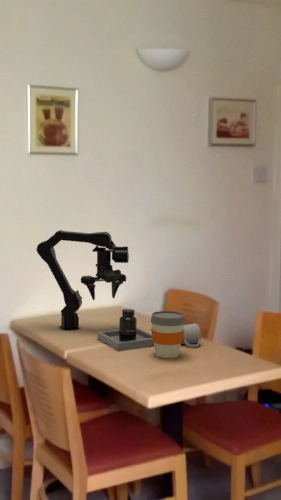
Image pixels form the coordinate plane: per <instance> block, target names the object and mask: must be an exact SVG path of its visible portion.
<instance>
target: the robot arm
mask: <svg viewBox="0 0 281 500" xmlns="http://www.w3.org/2000/svg"><path fill="white" fill-rule="evenodd" d="M61 241H65V242H66V241H67V242H77V243H89V244H91V245H94V248H93V249H92V250H91V252H93V253H96V263H95V267H96V273H95V276H92V275H81V278H80V283H81V284H83V285H84V286H86V287H87V290H88V291H89V294H90V296H91V299H92V301H95V299H96V293H95V289H96V286H97V285H96V284H95V283H96V282H105V283H109V284H111V297H112V299H115V297H116V294H117V292H118V290H119V287H120V286H121V285H122V284H124V283H125V282H126V281H127V276H126V275H125V274H123V273H122V270H120V269H115V270H113V265H112V263H111V261H113V262H114V263H117V264H123V263H124V264H128V263H129V259H130V258H129V257H130V254H129V246H117V245H116V244H115V243H114V241H113V240H112V235H111V234H110V232H108V231H97V232H90V233H89V232H77V231H66V230H62V229H60V230H57V231H55V233H54V234H52V236H50V237H49V238H48V239H47V240H43V241H41V242H40V243H38V245H37V246H36V252H37V254H38V255H39V257H40V258H41V259H42V260H43V262H45V263H46V265H48V268H49V270H50V271H51V274H52V275H53V277H54V279H55V281H56V283H57V285H58V286H59V288H60V291H61V292H62V293H61V294H62V295H63V301H64V303H65V306H64V307H63V308H62V309H61V310H60V313H61V317H60V318H61V319H60V321H61V322H60V323H61V325H59V328H61V329H63V330H64V331H70V330H71V331H72V330H79V329H80V322H79V321H80V317H79V316H78V315H79V314H78V312H77V311H79V309H80V308H81V307H82V304H83V297H82V296H81V294H80V291H79V290H78V289H77V290H74V289H73V288H72V286H71V284H70V282H69V281H68V278H67V277H66V274H65V273H64V271H63V269H62V267H61V265H60V263H59V261H58V259H57V256H56V250H55V248H54V247H55V246H57V244H59V243H60V242H61Z"/></svg>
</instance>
